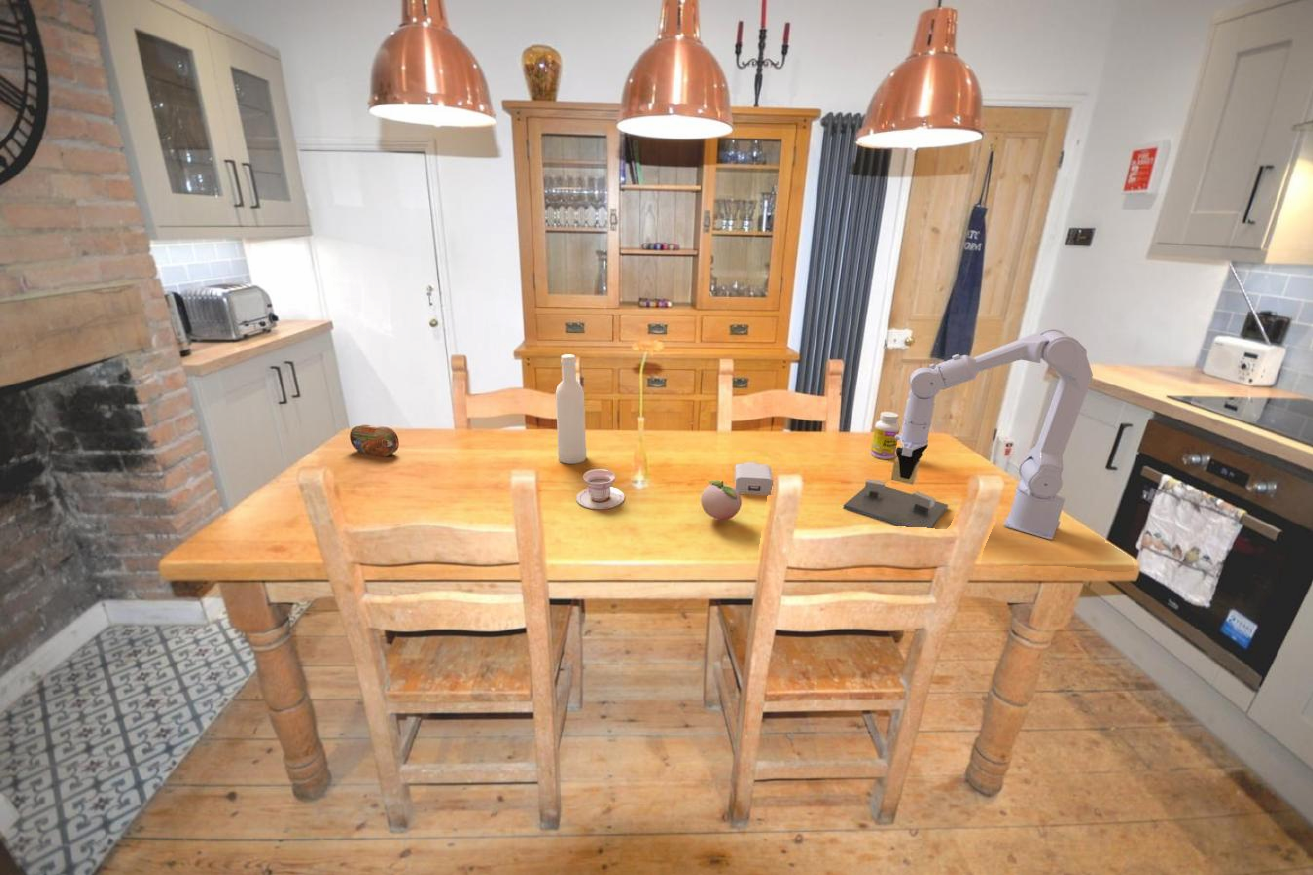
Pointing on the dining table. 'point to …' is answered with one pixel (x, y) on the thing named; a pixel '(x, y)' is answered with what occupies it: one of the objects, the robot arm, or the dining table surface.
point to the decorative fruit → (721, 501)
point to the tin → (374, 440)
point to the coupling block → (896, 473)
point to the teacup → (599, 490)
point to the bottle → (570, 415)
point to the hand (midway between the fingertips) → (906, 474)
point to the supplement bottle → (885, 436)
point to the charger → (753, 478)
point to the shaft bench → (896, 506)
